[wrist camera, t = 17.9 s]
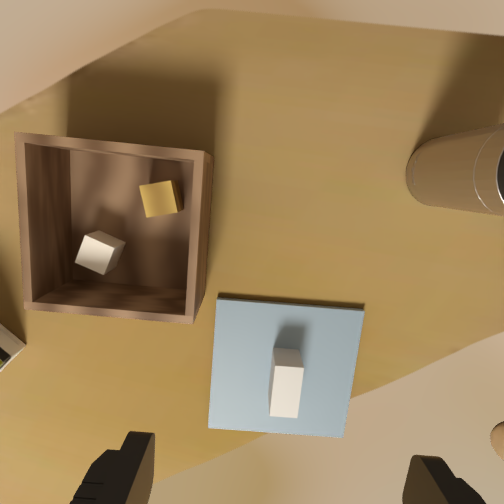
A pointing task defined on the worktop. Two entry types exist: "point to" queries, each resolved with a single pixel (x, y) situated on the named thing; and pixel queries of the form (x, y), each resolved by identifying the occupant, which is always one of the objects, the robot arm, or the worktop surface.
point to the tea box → (8, 346)
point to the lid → (283, 366)
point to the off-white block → (100, 252)
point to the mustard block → (161, 198)
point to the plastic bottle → (498, 439)
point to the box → (111, 227)
